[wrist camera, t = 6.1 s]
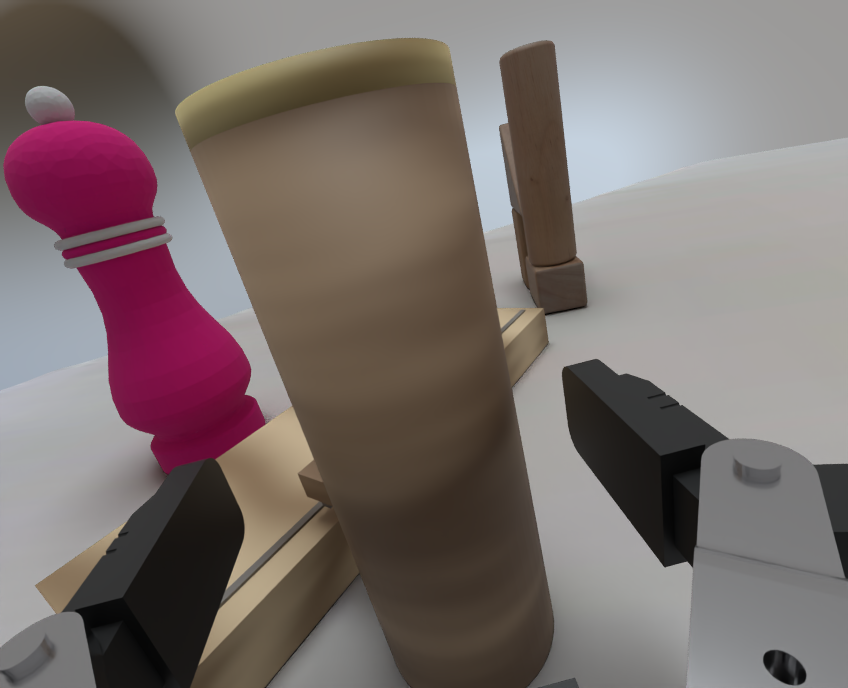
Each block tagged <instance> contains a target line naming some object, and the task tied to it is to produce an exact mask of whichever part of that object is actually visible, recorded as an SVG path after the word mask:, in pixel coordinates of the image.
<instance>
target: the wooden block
mask: <svg viewBox="0 0 848 688" xmlns="http://www.w3.org/2000/svg"><path fill="white" fill-rule="evenodd" d="M500 69H501V76H502V82H503V89H504V96H505V103H506V110H507V116H508V123H507V124H503V125H500V126H499V131H500V137H501V143H502V150H503V157H504V163H505V170H506V175H507V182H508V188H509V195H510V202H511V206H512V207H513V209H512V216H513V222H514V228H515V235H516V241H517V248H518V254H519V260H520V267H521V273H522V278H523V280H524V282H525V284H526V286H527V287H528V288H530V293H531V295H532V297H533V299H534V301H535V303H536V305H537V307H538V308H544V313H545V314H546V313H551V312H556V311H562V310H567V309H572V308H577V307H582V306H585V305H586V304H587V294H586V284H585V274H584V264H583V262H582V261H581V260H580V259H579V258H577V257H576V253H577V251H576V242H575V233H574V223H573V214H572V204H571V195H570V186H569V176H568V169H567V168H568V167H567V158H566V148H565V139H564V129H563V121H562V111H561V102H560V92H559V83H558V73H557V65H556V55H555V45H554V43H553V42H552V41H547V40H546V41H538V42H533V43H530V44H526V45H523V46H520V47H518V48H515V49H513V50H510V51H508V52H507V53H505V54H504V55H503V56H502V57H501V58H500Z"/></svg>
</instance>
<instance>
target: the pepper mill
mask: <svg viewBox="0 0 848 688" xmlns="http://www.w3.org/2000/svg"><path fill="white" fill-rule="evenodd" d="M25 105H26V108H27V111H28V112H29V114H30V115H31V117H32V118H33V119H34V120H35V121H37V122H38V123H39V124H41V126H38V127H34V128H32V129H30V130H29V131H27V132H25V133H23V134H22V135H21V136H19V137H18V138H17V139H16V140H15V141H14V142H13V143H12V144H11V146H10V147H9V148H8V151H7V154H6V156H5V160H4V174H5V180H6V183H7V185H8V188H9V190H10V193H11V195H12V197H13V199H14V200H15V202H16V203H17V205H18V206H19V208H20V209H21V210H22V211H23V212H24V213H25V214H26V215H28V216H29V217H31V218H32V219H34V220H35V221H37V222H39V223H41V224H44V225H45V226H47V227H49V228H50V229H52V230H54V231H55V232H56V233H57V234H58V235H59V236H60V237H61V239H62V240H59V241H57V242H55V244H54V247H55V249H57V250H60V251H62V250H63V252H62V256H63V257H64V258H65V259H67V260H65V262H64V265H65V267H67V268H71V269H72V268H77V269H78V271H79V273H80V274H81V275H82V277H83V279H84V280H85V282H86V283H87V285H88V286H89V288H90V289H91V291H92V292H93V294H94V297H95V299H96V301H97V304H98V306H99V308H100V310H101V312H102V315H103V319H104V324H105V328H106V332H107V343H108V371H109V384H110V389H111V394H112V399H113V402H114V404H115V406H116V408H117V411H118V413H119V415H120V417H121V418H122V420H123V421H124V422H125V423H126V424H127V425H129V426H131V427H132V428H134V429H137V430H139V431H143V432H146V433H149V434H153V435H155V436H154V438H153V440H152V442H151V450H152V452H153V454H154V455H155V457H156V459H157V461H158V462H159V464H160V466H161V468H162V470H163V471H164V472H165V473H166V474H168V475H169V474H170V472H171V471H172V470H173V468H175V467H176V466H180V465H184V464H188V463H192V462H196V461H200V460H203V459H207V458H213V459H217V458H218V457H220V456H221V455H223V454H224V453H225V452H227V451H228V450H230V449H231V448H233V447H234V446H236V445H237V444H238V443H240V442H241V441H243V440H244V439H246V438H247V437H248V436H250V435H251V434H253V433H254V432H256V431H257V430H258V429H260V428H261V427H263V426H264V425H265V419H264V417H263V414H262V412H261V410H260V408H259V405H258V403H257V401H256V399H255V398H253V397H251V396H249V395H245V392H246V389H247V387H248V384H249V381H250V378H251V367H250V364H249V361H248V359H247V357H246V355H245V354H244V352H243V350H242V348H241V347H240V345H239V344H238V343H237V342H236V340H235V339H234V338H233V337H232V335H231V334H230V333H229V332H228V331H227V330H226V329H225V328H223V327H222V326H221V325H220V324H219V323H218V322H217V321H216V320H215V319H214V318H213V317H212V316H211V315H210V314H209V313H208V312H207V311H206V310H205V309H204V308H203V307H202V306H201V305H200V304H199V303H198V302H197V301H196V299H195V298H194V297H193V296H192V294H191V293H190V292H189V291H188V289H187V288H186V286H185V284H184V283H183V281H182V279H181V277H180V275H179V274H178V272H177V270H176V268H175V266H174V263H173V260H172V258H171V255H170V252H169V249H168V247H167V244H166V243H168V242H170V241H171V240H172V236H171V235H170V234H168V233H166V228H165V227H164V226H161V225H163V224H164V223H165V220H164V219H163V218H162V217H158V216H157V217H154V216H153V212H152V206H153V202H154V199H155V196H156V193H157V179H156V176H155V173H154V170H153V168H152V166H151V164H150V162H149V161H148V159H147V157H146V156H145V154H144V153H143V152H142V150H141V149H140V148H139V147H138V146H137V145H136V144H135V143H134V141H132V140H131V139H130V138H128V137H127V136H126V135H125V134H123V133H121V132H119V131H117V130H116V129H114V128H111V127H108V126H105V125H103V124H98V123H93V122H87V121H73V120H74V117H75V111H74V108H73V105H72V103H71V102H70V100H69V99H68V98H67V97H66V96H65V95H64V94H63V93H61V92H59V91H58V90H57V89H54V88H50V87H46V86H39V87H35V88H33V89H31V90H30V91H29V92H28V93H27V95H26V99H25Z"/></svg>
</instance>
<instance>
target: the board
mask: <svg viewBox="0 0 848 688" xmlns="http://www.w3.org/2000/svg"><path fill="white" fill-rule="evenodd" d="M497 311H498V316H499V322H500V327H501V332H502V338H503V343H504V349H505V354H506V360H507V365H508V371H509V376H510V381H511V387H513V385H514V384H515V383H516V382H517V381H518V379H519V378H520V377H521V376H522V375H523V373H524V372H525V371H526V370H527V368H528V367H529V366H530V365H531V364H532V362H533V361H534V360H535V359H536V358H537V356H538V355H539V354H540V353H541V351H542V350H543V349H544V348H545V347H546V345H547V344H548V343H549V341H548V334H547V327H546V320H545V313H544V308H497ZM215 460H216V461H217V462H218V463H219V465H220V467H221V469H222V471H223V473H224V475H225V477H226V479H227V481H228V484H229V486H230V488H231V490H232V492H233V494H234V496H235V498H236V500H237V503H238V505H239V507H240V509H241V511H242V514H243V518H244V524H245V534H244V540H243V543H242V546H241V549H240V551H239V554H238V557H237V560H236V562H235V565H234V568H233V571H232V574H231V576H230V579H229V582H228V585H227V587H226V590H225V593H224V596H223V598H222V601H221V604H220V607H219V609H218V612H217V615H216V618H215V620H214V623H213V626H212V629H211V632H210V634H209V637H208V640H207V643H206V645H205V648H204V651H203V654H202V656H201V659H200V662H199V665H198V667H197V670H196V673H195V676H194V679H193V681H192V684H191V687H190V688H265V687H266V685H267V684H268V683H269V682H270V680H271V679H272V678H273V677H274V676H275V674H276V673H277V672H278V671H279V670H280V668H281V667H282V666H283V665H284V663H285V662H286V661H287V660H288V659H289V657H290V656H291V655H292V654H293V653H294V651H295V650H296V649H297V648H298V646H299V645H300V644H301V643H302V642H303V640H304V639H305V638H306V637H307V636H308V634H309V633H310V632H311V631H312V629H313V628H314V627H315V626H316V625H317V623H318V622H319V621H320V620H321V619H322V617H323V616H324V615H325V614H326V612H327V611H328V610H329V609H330V608H331V606H332V605H333V604H334V603H335V602H336V600H337V599H338V598H339V597H340V595H341V594H342V593H343V592H344V591H345V589H346V588H347V587H348V586H349V585H350V583H351V582H352V581H353V580H354V578H355V577H356V576H357V575H358V574H359V570H358V568H357V565H356V563H355V560H354V558H353V555H352V553H351V550H350V548H349V545H348V543H347V540H346V538H345V535H344V533H343V530H342V528H341V525H340V523H339V520H338V518H337V515H336V513H335V510H334V508H333V507H332V508H331V509H330V508H328V507H325V506H323V505H322V502H320V501H317V500H314V499H312V498H309V497H307V495H306V493H305V490H304V488H303V486H302V483H301V481H300V479H299V476H298V474H297V473H299V472H300V471H301V470H302V469H303V468H305V467H306V466H307V465H308V464H309V463H310V462H312V461H313V460H314V458H313V456H312V453H311V451H310V448H309V446H308V443H307V441H306V438H305V436H304V433H303V431H302V428H301V426H300V423H299V421H298V418H297V416H296V413H295V411H294V408H293V406H291V407H290V408H289V409H287V410H286V411H284V412H283V413H281V414H280V415H278V416H277V417H276V418H274V419H273V420H271V421H270V422H268V423H267V424H266V425H264V426H263V427H261V428H260V429H258V430H257V431H256V432H254V433H253V434H251V435H250V436H248V437H247V438H246V439H244V440H243V441H241V442H240V443H238V444H237V445H236V446H234V447H233V448H231V449H230V450H228V451H227V452H225V453H224V454H223V455H221V456H220V457H218V458H217V459H215ZM125 524H126V522H125V523H124V524H122V525H121V526H120V527H118V528H117V529H115V530H114V531H112V532H111V533H109V534H108V535H107V536H105V537H104V538H102V539H101V540H99V541H98V542H97V543H95V544H94V545H92V546H91V547H89V548H88V549H87V550H85V551H84V552H82V553H81V554H79V555H78V556H77V557H75V558H74V559H72V560H71V561H69V562H68V563H67V564H65V565H64V566H62V567H61V568H59V569H58V570H56V571H55V572H54V573H52V574H51V575H49V576H48V577H46V578H45V579H44V580H42V581H41V582H39V583H38V584H36V585H35V586H36V588H37V589H38V590H39V592H40V593H41V594H42V596H43V597H44V598H45V600H46V601H47V602H48V603H49V605H50V606H51V607H52V609H53V610H54V611H55V613H56V614H58V613H61V612H62V611H63V609H64V608H65V607H66V605H67V604H68V603H69V601H70V600H71V598H72V597H73V596H74V594H75V593H76V592H77V590H78V589H79V587H80V586H81V585H82V583H83V582H84V580H85V579H86V578H87V576H88V575H89V574H90V572H91V571H92V569H93V568H94V567H95V565H96V564H97V562H98V561H99V560H100V558H101V557H102V556H104V555H106V550H107V549H108V547H109V546H110V545H111V543H112V542H113V540H114V539H115V538H118V533H119V532H120V531H121V529H122V528H123V527H124V525H125Z"/></svg>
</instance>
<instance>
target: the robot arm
mask: <svg viewBox="0 0 848 688" xmlns="http://www.w3.org/2000/svg"><path fill="white" fill-rule="evenodd" d="M562 380H563V388H564V396H565V404H566V412H567V420H568V427H569V432H570V435H571V439H572V441H573V444H574V446H575V448H576V450H577V452H578V453H579V454H580V456H581V457H582V458H583V460H584V461H585V462H586V464H587V465H588V466H589V468H590V469H591V470H592V472H593V473H594V474H595V476H596V477H597V478H598V480H599V481H600V482H601V484H602V485H603V486H604V488H605V489H606V490H607V492H608V493H609V494H610V496H611V497H612V498H613V500H614V501H615V502H616V504H617V505H618V506H619V507H620V509H621V510H622V511H623V513H624V514H625V515H626V517H627V518H628V519H629V521H630V522H631V523H632V525H633V526H634V527H635V529H636V530H637V531H638V533H639V534H640V535H641V537H642V538H643V539H644V541H645V542H646V543H647V545H648V546H649V547H650V549H651V550H652V551H653V553H654V554H655V555H656V557H657V558H658V559H659V561H660V562H661V563H662V564H663V566H664V567H668V566H671V565H675V564H679V563H683V562H687V561H688V563H689V564H690V565H691V566H692V567H693V580H692V597H691V614H690V631H689V649H688V666H687V683H686V688H848V464H822V465H813V464H812V463H811V462H810V461H809V460H807V459H806V458H805V457H804V456H802V455H801V454H799V453H797V452H795V451H793V450H792V449H789V448H787V447H784V446H782V445H779V444H776V443H772V442H768V441H763V440H756V439H728V438H727V437H726V436H724V435H723V434H721V433H720V432H719V431H717V430H716V429H715V428H713V427H712V426H710V425H709V424H708V423H706V422H705V421H703V420H702V419H701V418H699V417H698V416H697V415H695V414H694V413H692V412H691V411H690V410H688V409H687V408H686V407H684V406H683V405H681V406H680V405H679V402H677V401H676V400H675V399H673V398H672V397H670V396H669V395H667V396H666V394H665V392H663V391H662V390H661V389H659V388H658V387H657V386H655V385H654V384H652V383H651V382H650V381H647V380H644V379H641V378H638V377H635V376H632V375H629V374H623V375H618V374H616V373H615V372H614V371H613V370H611V369H610V368H609V367H607V366H606V365H605V364H604V363H602V362H601V361H600V360H598V359H594V360H590V361H586V362H582V363H578V364H574V365H570V366H566V367H564V368H563V371H562ZM244 534H245V524H244V518H243V514H242V511H241V509H240V507H239V505H238V503H237V500H236V498H235V496H234V494H233V492H232V490H231V488H230V486H229V484H228V481H227V479H226V477H225V475H224V473H223V471H222V469H221V467H220V465H219V463H218V462H217V461H216V460H215V459H213V458H207V459H203V460H200V461H196V462H192V463H188V464H184V465H180V466H176V467H175V468H173V470H172V471H171V472H170V474H169V475H168V476H167V478H166V479H165V481H164V482H163V484H162V485H161V486H160V488H159V489H158V491H157V492H156V494H155V495H154V496H152V497H151V498H150V499H149V500H148V501H147V502H146V503H145V504H143V505H142V506H141V507H140V508H139V509H138V510H137V511H136V512H134V513H133V514H132V516H131V517H130V518H129V520H128V521H127V522H126V524H125V525H124V527H123V528H122V529H121V531H120V532H119V533H118V538H115V539H114V540H113V542H112V543H111V545H110V546H109V547H108V549H107V550H106V555H104V556H102V557H101V558H100V560H99V561H98V562H97V564H96V565H95V567H94V568H93V569H92V571H91V572H90V574H89V575H88V576H87V578H86V579H85V580H84V582H83V583H82V585H81V586H80V587H79V589H78V590H77V592H76V593H75V594H74V596H73V597H72V598H71V600H70V601H69V603H68V604H67V605H66V607H65V608H64V609H63V611H62V612H61V613H58V614H55V615H52V616H49V617H47V618H44V619H42V620H40V621H38V622H36V623H35V624H33V625H31V626H29V627H28V628H26V629H24V630H23V631H22V632H20V633H19V634H17V635H16V636H14V637H13V638H12V639H10V640H9V641H8V642H6V643H5V644H4V645H3V646H2V647H1V648H0V688H190V687H191V684H192V681H193V679H194V676H195V673H196V670H197V667H198V665H199V662H200V659H201V656H202V654H203V651H204V648H205V645H206V643H207V640H208V637H209V634H210V632H211V629H212V626H213V623H214V620H215V618H216V615H217V612H218V609H219V607H220V604H221V601H222V598H223V596H224V593H225V590H226V587H227V585H228V582H229V579H230V576H231V574H232V571H233V568H234V565H235V562H236V560H237V557H238V554H239V551H240V549H241V546H242V543H243V540H244ZM539 688H579V687H578V684H577V682H576V679H575V678H572V679H569V680H565V681H561V682H558V683H554V684H550V685H546V686H543V687H539Z"/></svg>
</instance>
